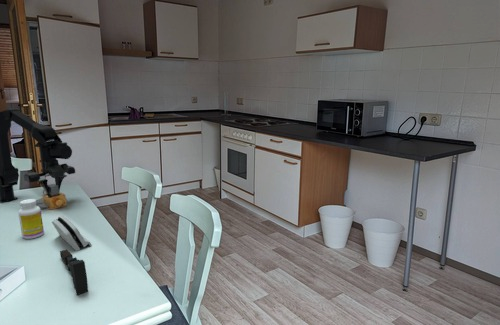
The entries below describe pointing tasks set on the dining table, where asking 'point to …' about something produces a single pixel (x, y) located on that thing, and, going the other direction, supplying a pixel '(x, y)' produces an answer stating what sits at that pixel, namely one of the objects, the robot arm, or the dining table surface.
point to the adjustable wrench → (76, 271)
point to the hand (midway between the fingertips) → (53, 192)
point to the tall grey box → (53, 190)
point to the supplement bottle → (30, 219)
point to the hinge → (70, 233)
